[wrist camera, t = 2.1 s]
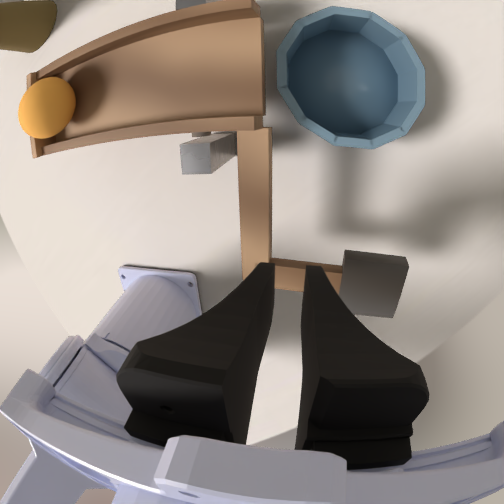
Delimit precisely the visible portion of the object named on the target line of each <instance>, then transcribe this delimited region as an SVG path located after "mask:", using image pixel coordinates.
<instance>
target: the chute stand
mask: <svg viewBox="0 0 504 504" xmlns="http://www.w3.org/2000/svg"><path fill="white" fill-rule="evenodd" d="M216 1H222V0H176V10H180V9H183V8H188V7H192V6H196V5H201V4H206V3H211V2H216ZM180 154H181V166H182V174H212V173H213V172H214V171H216V170H217V169H218V168H220V167H221V166H222V165H223V164H225V163H226V162H227V161H229V160H230V159H231V158H233V157H234V156H235V133H218V134H211V135H210V136H203V137H200V138H197V139H194V140H191V141H189V142H186V143H183V144H180Z"/></svg>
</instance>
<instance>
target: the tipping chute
mask: <svg viewBox="0 0 504 504" xmlns="http://www.w3.org/2000/svg"><path fill="white" fill-rule="evenodd" d="M48 77H58V78H61V79H63V80H65V81H67V82H68V83H69V84H70V85H71V87H72V88H73V90H74V93H75V97H76V106H75V111H74V114H73V116H72V118H71V120H70V122H69V123H68V125H67V126H66V127H65V128H64V129H63V130H62V131H61V132H59V133H58V134H56V135H54V136H52V137H49V138H43V139H40V138H34V137H32V136H30V140H31V148H32V155H33V158H37V157H40V156H43V155H47V154H51V153H55V152H59V151H64V150H68V149H73V148H78V147H83V146H88V145H94V144H99V143H105V142H111V141H118V140H125V139H132V138H140V137H148V136H157V135H167V134H179V133H192V137H203V136H210V135H211V131H237V153H238V181H239V207H240V231H241V255H242V277H243V280H244V279H245V278H246V277H247V276H248V275H249V274H250V273H251V272H252V271H253V269H254V268H255V267H256V266H257V265H258V264H259V263H260V262H266V263H275V288H276V289H284V290H291V291H299V292H303V291H304V281H305V270H306V265H313V266H321V267H322V268H323V269H324V271H325V273H326V275H327V277H328V279H329V281H330V282H331V284H332V286H333V287H334V289H335V290H336V292H337V293H338V295H339V296H340V298H341V299H342V301H343V302H344V303H345V305H346V306H347V307H348V309H349V310H350V311H351V312H352V314H356V315H365V316H375V317H386V318H393V316H394V314H395V311H396V308H397V305H398V302H399V299H400V296H401V292H402V289H403V286H404V283H405V279H406V276H407V272H408V269H409V265H408V262H407V259H406V257H402V256H394V255H385V254H377V253H368V252H360V251H351V250H345V251H344V258H343V264H342V266H339V265H331V264H322V263H313V262H305V261H296V260H288V259H279V258H272V127H263V116H264V115H266V107H265V58H264V22H263V20H262V19H261V17H260V6H259V5H258V4H257V3H256V2H255V0H222V1H216V2H211V3H206V4H201V5H196V6H192V7H188V8H183V9H180V10H176V11H172V12H168V13H165V14H162V15H158V16H155V17H152V18H149V19H146V20H143V21H140V22H137V23H134V24H132V25H129V26H126V27H124V28H121V29H119V30H116V31H114V32H111V33H109V34H107V35H104V36H102V37H100V38H98V39H96V40H93V41H91V42H89V43H87V44H85V45H83V46H81V47H79V48H77V49H75V50H73V51H71V52H70V53H68V54H66V55H64V56H62V57H61V58H59V59H57V60H55V61H54V62H52V63H50V64H49V65H47V66H45V67H44V68H42V69H41V70H39V71H37V72H34V73H30V74H28V75H27V90H28V89H29V87H31V86H32V85H33V84H34V83H35V82H37V81H39V80H41V79H44V78H48Z"/></svg>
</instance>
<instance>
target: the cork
mask: <svg viewBox="0 0 504 504" xmlns="http://www.w3.org/2000/svg"><path fill="white" fill-rule="evenodd" d="M56 15H57V7H56V4H55V3H54V1H51V0H32V1H15V2H5V3H0V49H2V50H11V51H19V52H26V53H31V52H34V51H36V50H38V49H39V48H40V47H41V46H42V45H43V44H44V42H45V41H46V39H47V38H48V37H49V35H50V33H51V31H52V29H53V26H54V23H55V20H56Z"/></svg>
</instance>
